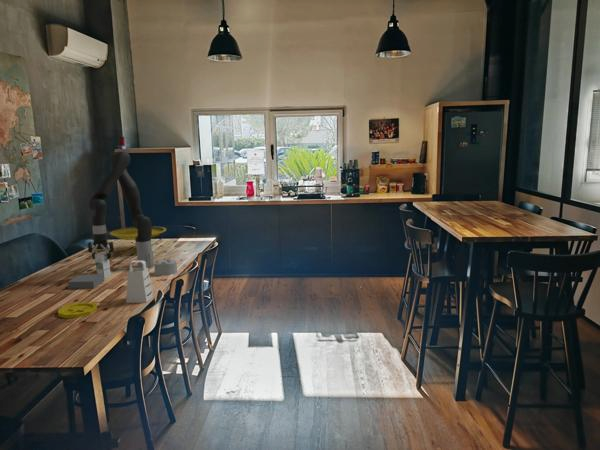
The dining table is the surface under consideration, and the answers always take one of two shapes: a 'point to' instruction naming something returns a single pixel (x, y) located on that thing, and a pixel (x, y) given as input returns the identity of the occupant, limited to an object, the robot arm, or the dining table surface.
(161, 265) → the lumpy-topped squat cylinder
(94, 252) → the robot arm
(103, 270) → the syrup box
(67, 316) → the decorative disc
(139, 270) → the grater
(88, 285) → the charcoal plinth
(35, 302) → the dining table surface
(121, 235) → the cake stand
